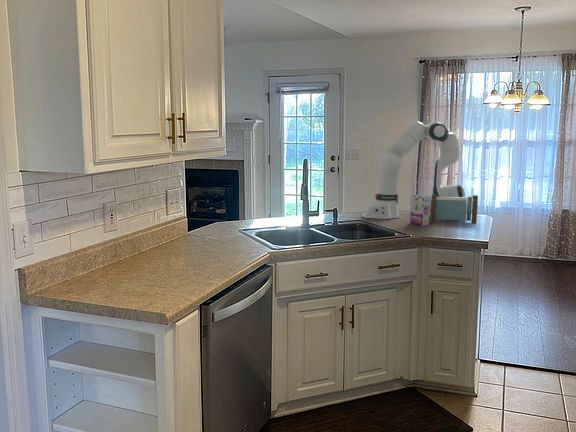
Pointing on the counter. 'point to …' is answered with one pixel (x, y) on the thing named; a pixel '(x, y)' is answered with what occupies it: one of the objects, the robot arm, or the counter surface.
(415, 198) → the candy bar box
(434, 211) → the post
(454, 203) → the gate
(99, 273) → the counter surface
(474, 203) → the gate post
